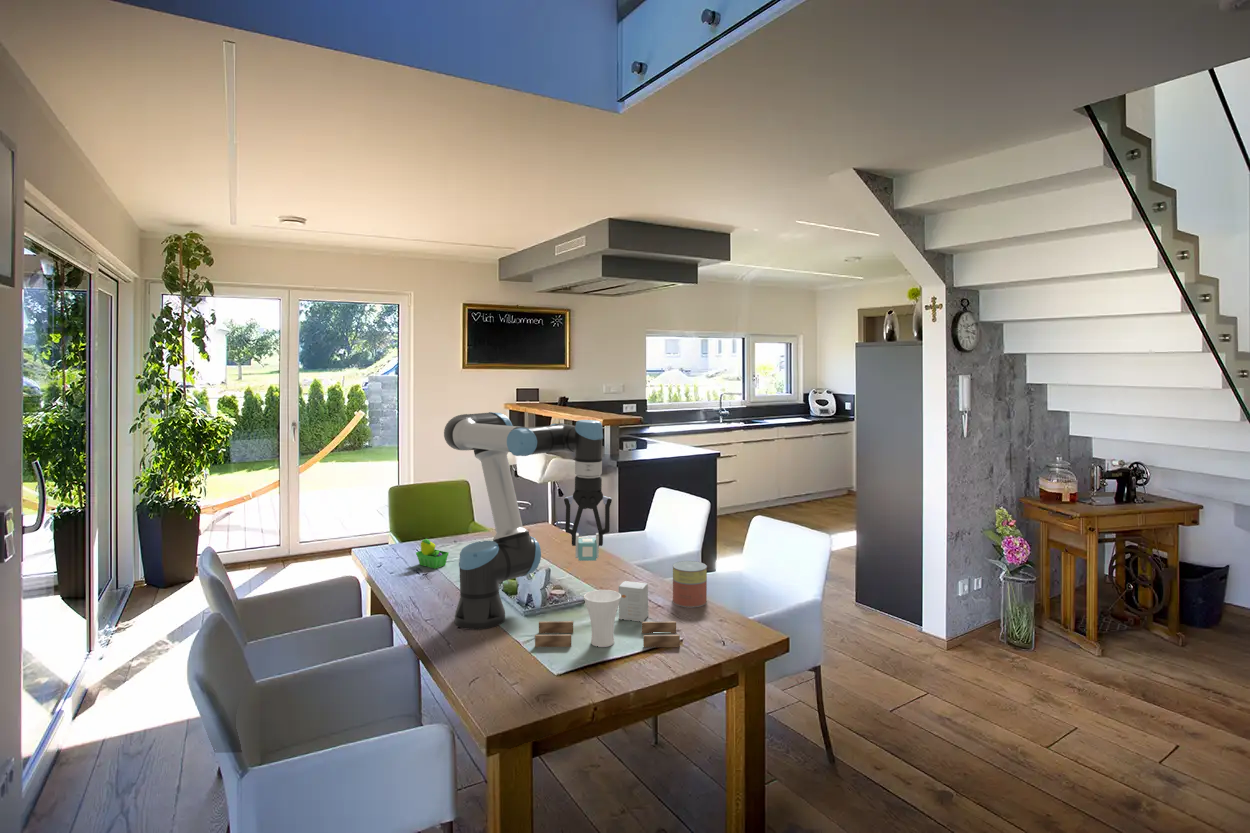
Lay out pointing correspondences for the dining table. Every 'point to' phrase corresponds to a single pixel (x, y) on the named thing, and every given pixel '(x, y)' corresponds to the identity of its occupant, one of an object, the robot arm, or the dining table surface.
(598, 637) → the cup
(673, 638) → the caddy right
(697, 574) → the canned food
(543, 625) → the caddy left
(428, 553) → the fruit basket
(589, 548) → the letter cube
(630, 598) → the small box
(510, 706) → the dining table surface
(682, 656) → the dining table surface
